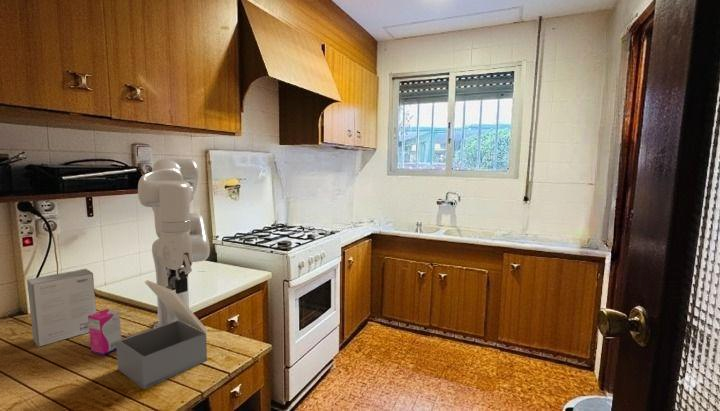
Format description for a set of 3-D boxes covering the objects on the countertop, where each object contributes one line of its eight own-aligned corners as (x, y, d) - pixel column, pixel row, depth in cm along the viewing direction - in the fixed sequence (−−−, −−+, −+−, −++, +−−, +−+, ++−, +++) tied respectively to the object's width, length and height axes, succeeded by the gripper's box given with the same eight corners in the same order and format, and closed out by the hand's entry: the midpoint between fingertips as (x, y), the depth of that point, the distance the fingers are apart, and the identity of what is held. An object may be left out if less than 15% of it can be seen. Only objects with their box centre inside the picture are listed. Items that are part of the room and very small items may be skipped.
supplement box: (109, 343, 112) (107, 307, 111) (122, 347, 110) (120, 311, 109) (89, 352, 107) (87, 314, 106) (102, 356, 105) (100, 318, 104)
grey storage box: (117, 369, 98) (116, 341, 97) (179, 344, 112) (178, 320, 111) (143, 389, 90) (142, 358, 89) (206, 360, 103) (206, 333, 103)
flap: (144, 282, 102) (162, 267, 106) (178, 319, 111) (193, 304, 115) (171, 293, 94) (190, 276, 97) (206, 333, 103) (221, 316, 106)
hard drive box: (91, 324, 126) (87, 268, 124) (98, 330, 121) (94, 272, 119) (31, 340, 114) (26, 278, 112) (36, 347, 109) (31, 283, 107)
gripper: (147, 225, 103) (150, 288, 105) (177, 232, 93) (180, 301, 95) (174, 222, 109) (176, 282, 111) (204, 228, 99) (206, 293, 101)
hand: (178, 290), depth 103 cm, fingers closed on flap, 3 cm apart
